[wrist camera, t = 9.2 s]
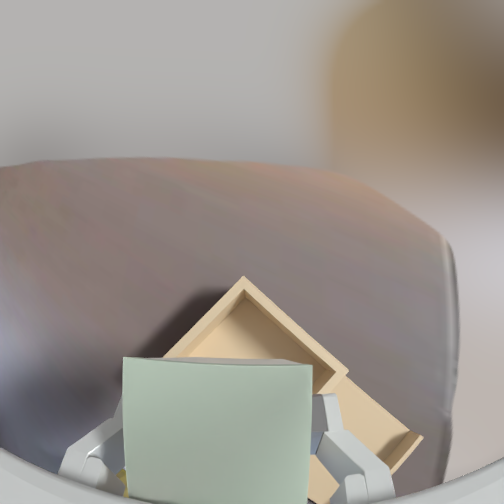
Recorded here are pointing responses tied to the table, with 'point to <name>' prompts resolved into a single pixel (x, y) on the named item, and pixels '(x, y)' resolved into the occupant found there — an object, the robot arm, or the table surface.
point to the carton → (217, 430)
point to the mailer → (301, 351)
